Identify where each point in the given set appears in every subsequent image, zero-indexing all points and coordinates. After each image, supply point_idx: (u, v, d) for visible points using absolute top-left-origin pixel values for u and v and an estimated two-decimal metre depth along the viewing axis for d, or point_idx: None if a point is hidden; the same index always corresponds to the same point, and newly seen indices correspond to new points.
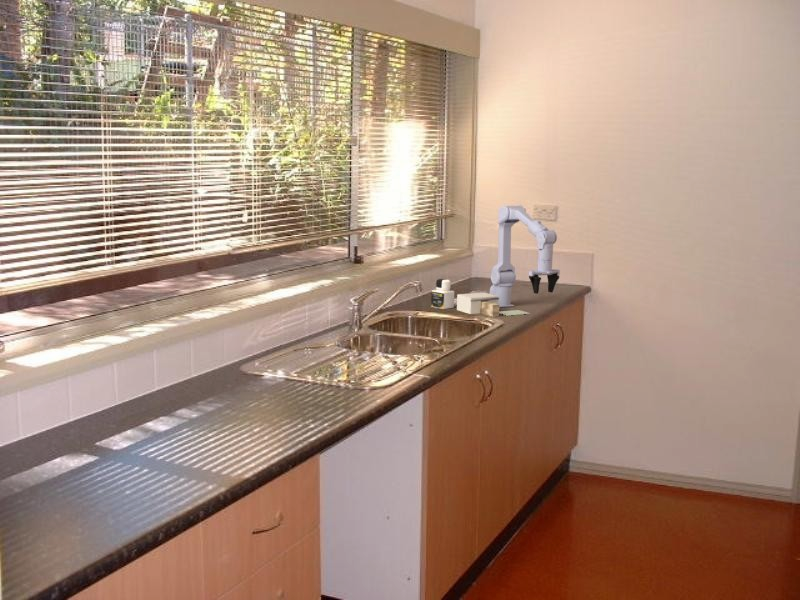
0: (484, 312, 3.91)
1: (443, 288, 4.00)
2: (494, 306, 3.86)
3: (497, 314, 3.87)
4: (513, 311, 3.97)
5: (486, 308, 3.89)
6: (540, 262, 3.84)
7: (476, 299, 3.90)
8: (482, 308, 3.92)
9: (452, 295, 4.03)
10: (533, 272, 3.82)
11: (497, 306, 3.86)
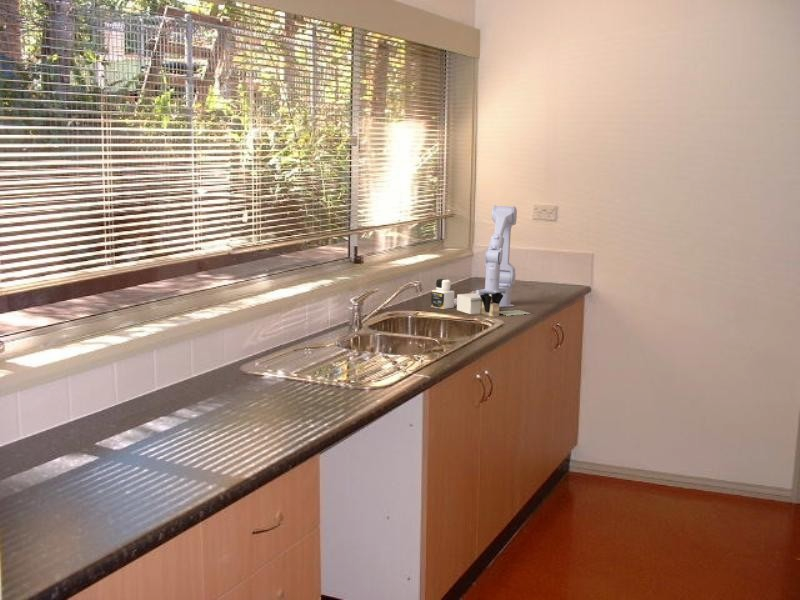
0: (484, 312, 3.91)
1: (443, 288, 4.00)
2: (494, 306, 3.86)
3: (497, 314, 3.87)
4: (513, 311, 3.97)
5: None
6: (487, 281, 3.86)
7: (476, 299, 3.90)
8: (482, 308, 3.92)
9: (452, 295, 4.03)
10: (480, 291, 3.84)
11: (497, 306, 3.86)
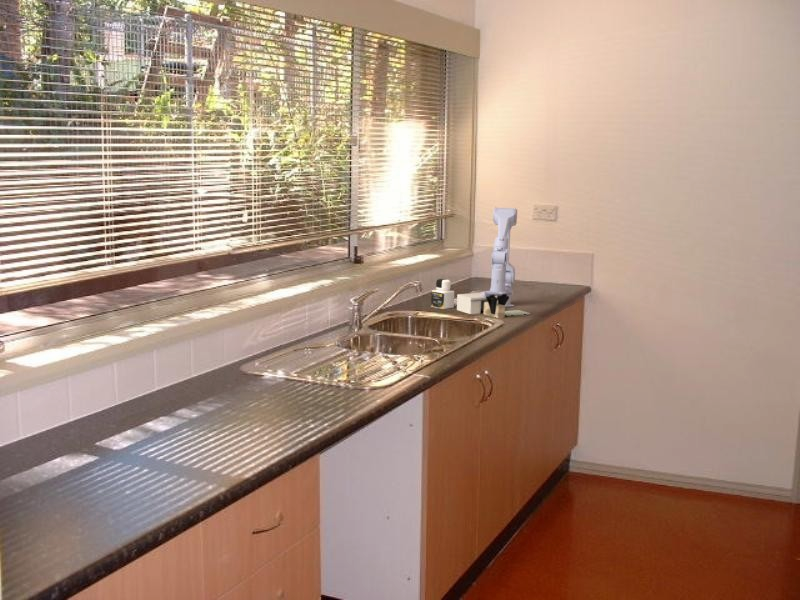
0: (489, 313, 3.87)
1: (443, 288, 4.00)
2: (500, 307, 3.83)
3: (503, 315, 3.84)
4: (513, 311, 3.97)
5: None
6: (493, 283, 3.82)
7: (476, 299, 3.90)
8: (487, 309, 3.89)
9: (452, 295, 4.03)
10: (486, 293, 3.81)
11: (503, 307, 3.83)
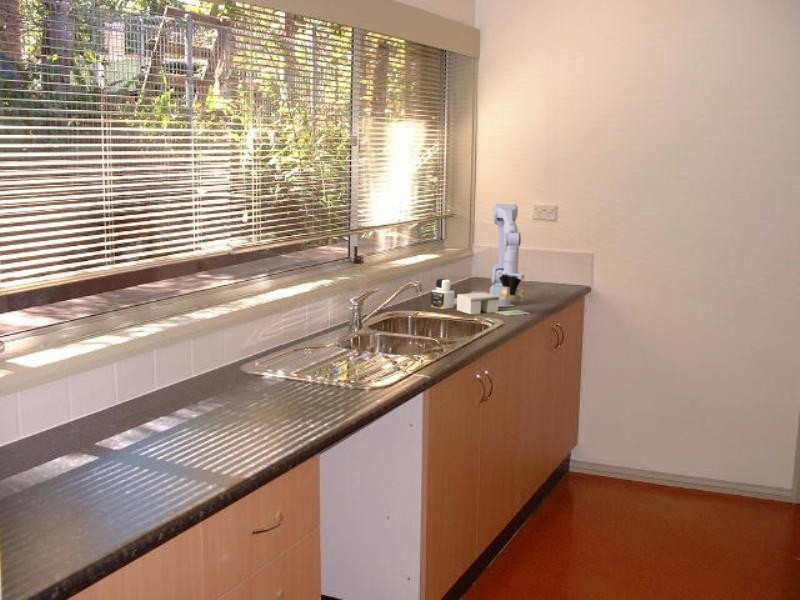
0: None
1: (443, 288, 4.00)
2: (503, 288, 3.91)
3: (504, 296, 3.89)
4: (513, 311, 3.97)
5: None
6: None
7: (476, 299, 3.90)
8: None
9: (452, 295, 4.03)
10: (498, 271, 3.95)
11: (505, 288, 3.89)
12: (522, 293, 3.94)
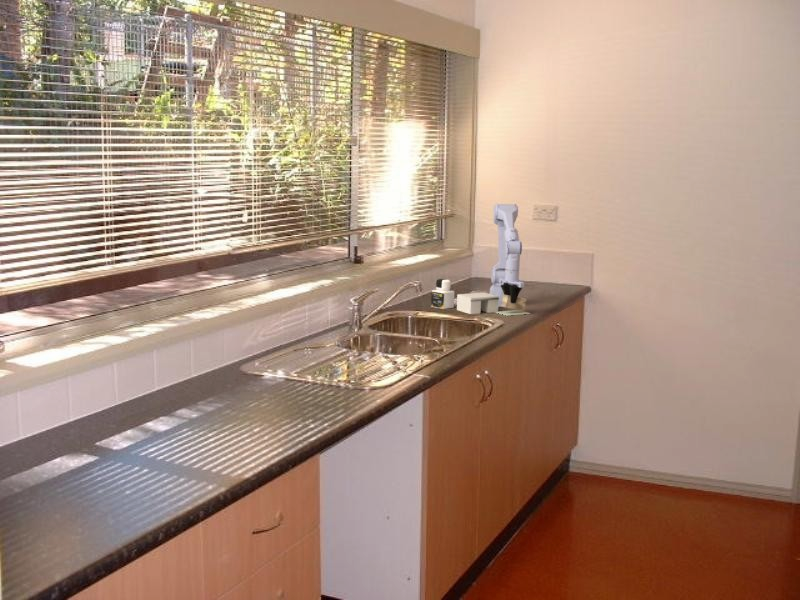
0: None
1: (443, 288, 4.00)
2: (504, 296, 3.92)
3: (505, 304, 3.91)
4: (513, 311, 3.97)
5: None
6: None
7: (476, 299, 3.90)
8: None
9: (452, 295, 4.03)
10: (500, 279, 3.97)
11: (506, 296, 3.91)
12: (524, 302, 3.95)
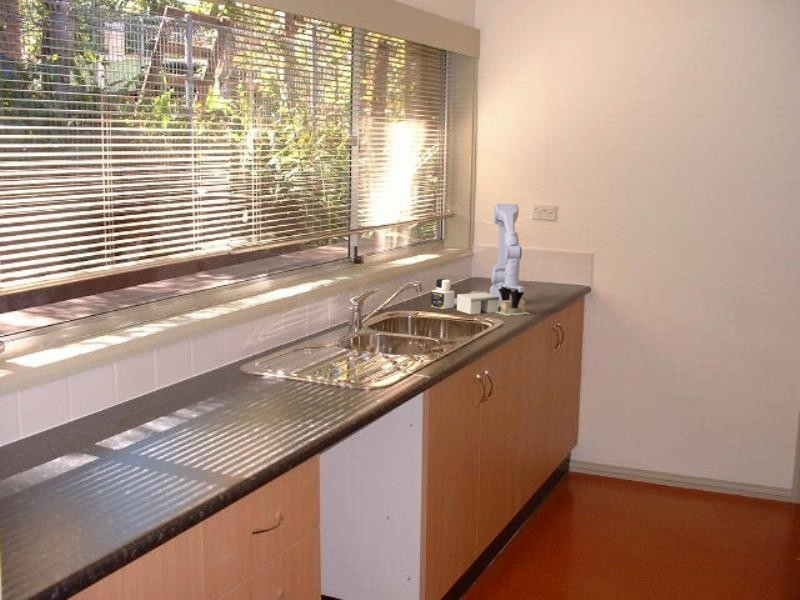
0: None
1: (443, 288, 4.00)
2: (502, 302, 3.92)
3: (504, 311, 3.91)
4: None
5: None
6: None
7: (476, 299, 3.90)
8: None
9: (452, 295, 4.03)
10: (500, 283, 3.97)
11: (504, 303, 3.91)
12: (523, 304, 3.95)
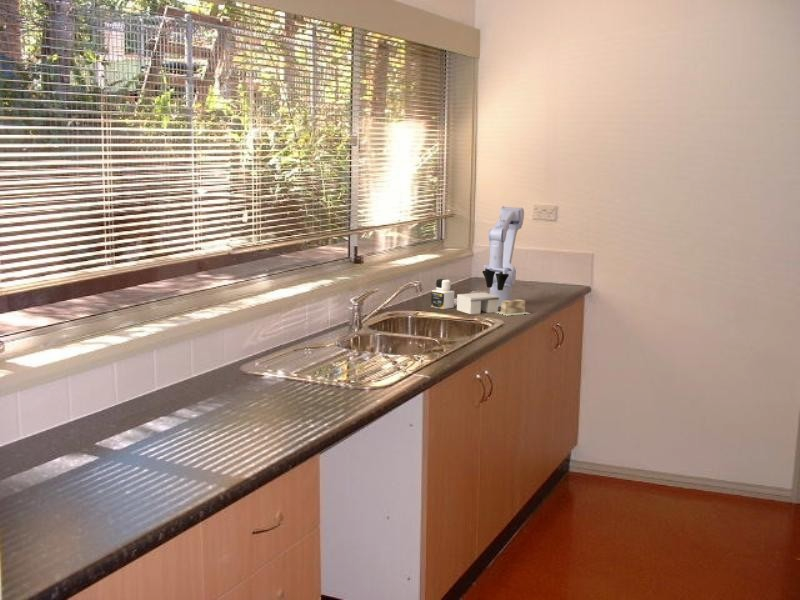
0: None
1: (443, 288, 4.00)
2: (502, 302, 3.92)
3: (504, 311, 3.91)
4: None
5: None
6: None
7: (476, 299, 3.90)
8: None
9: (452, 295, 4.03)
10: (484, 266, 4.02)
11: (504, 303, 3.91)
12: (523, 304, 3.95)
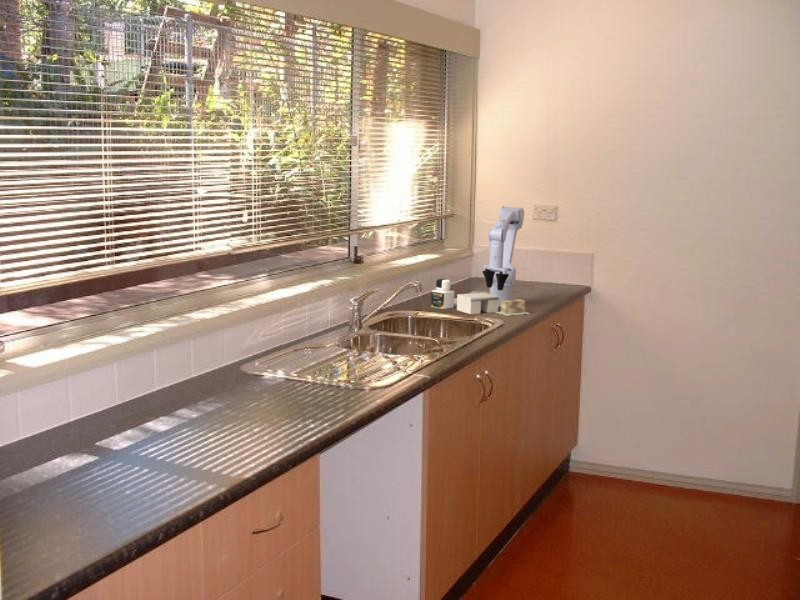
0: None
1: (443, 288, 4.00)
2: (502, 302, 3.92)
3: (504, 311, 3.91)
4: None
5: None
6: None
7: (476, 299, 3.90)
8: None
9: (452, 295, 4.03)
10: (484, 266, 4.02)
11: (504, 303, 3.91)
12: (523, 304, 3.95)
